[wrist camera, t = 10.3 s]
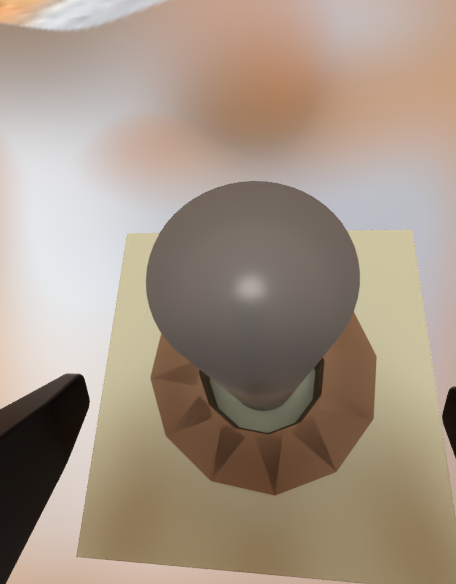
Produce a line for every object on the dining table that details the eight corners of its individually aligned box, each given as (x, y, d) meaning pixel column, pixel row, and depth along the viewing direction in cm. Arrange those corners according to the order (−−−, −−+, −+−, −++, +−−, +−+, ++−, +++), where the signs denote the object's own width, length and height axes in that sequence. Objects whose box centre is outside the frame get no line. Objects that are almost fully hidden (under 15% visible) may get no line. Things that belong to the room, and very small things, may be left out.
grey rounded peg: (285, 420, 17) (331, 411, 5) (221, 398, 17) (112, 339, 5) (302, 354, 18) (379, 204, 6) (241, 336, 18) (188, 164, 6)
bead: (278, 527, 15) (281, 551, 12) (135, 388, 18) (110, 381, 15) (395, 363, 17) (420, 351, 14) (249, 258, 20) (246, 231, 17)
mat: (461, 588, 14) (466, 592, 14) (80, 553, 16) (76, 556, 16) (409, 233, 20) (412, 229, 19) (129, 236, 22) (127, 233, 21)
